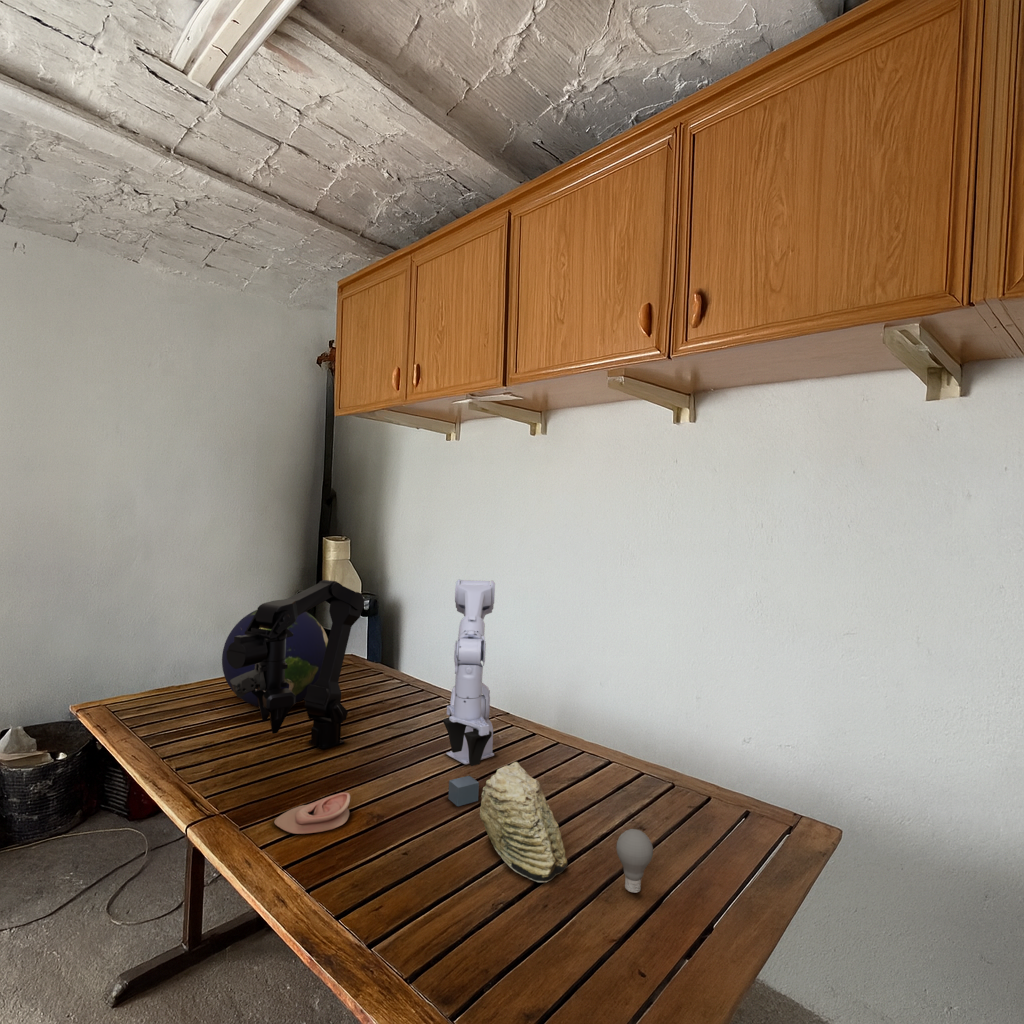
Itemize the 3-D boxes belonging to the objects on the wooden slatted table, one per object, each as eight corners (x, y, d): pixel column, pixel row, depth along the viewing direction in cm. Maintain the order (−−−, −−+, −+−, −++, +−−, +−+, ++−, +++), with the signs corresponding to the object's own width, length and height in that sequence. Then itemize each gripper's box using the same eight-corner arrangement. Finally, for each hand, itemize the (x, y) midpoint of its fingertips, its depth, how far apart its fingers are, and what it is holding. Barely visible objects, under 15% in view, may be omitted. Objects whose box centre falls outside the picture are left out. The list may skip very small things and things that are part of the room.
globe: (289, 685, 209) (292, 594, 208) (348, 705, 191) (352, 606, 191) (199, 706, 185) (203, 604, 184) (258, 732, 167) (262, 619, 167)
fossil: (501, 827, 124) (504, 751, 124) (575, 868, 111) (578, 784, 111) (467, 843, 118) (470, 763, 118) (541, 889, 105) (545, 799, 105)
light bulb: (610, 879, 108) (613, 822, 108) (644, 879, 109) (647, 822, 109) (619, 902, 102) (622, 840, 102) (655, 901, 103) (658, 840, 103)
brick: (448, 798, 135) (448, 780, 135) (468, 793, 138) (469, 775, 138) (457, 806, 132) (458, 787, 132) (478, 801, 135) (479, 782, 135)
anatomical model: (265, 808, 120) (298, 782, 131) (265, 829, 120) (297, 801, 131) (330, 818, 117) (357, 791, 128) (329, 840, 117) (357, 810, 128)
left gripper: (226, 653, 148) (223, 719, 148) (243, 673, 132) (240, 747, 133) (275, 648, 154) (273, 712, 154) (297, 667, 139) (294, 737, 139)
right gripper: (435, 687, 139) (433, 749, 139) (469, 707, 127) (466, 774, 127) (463, 683, 143) (460, 743, 143) (498, 702, 131) (496, 767, 131)
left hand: (269, 726), depth 145 cm, fingers open, 9 cm apart
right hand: (465, 757), depth 135 cm, fingers open, 7 cm apart
